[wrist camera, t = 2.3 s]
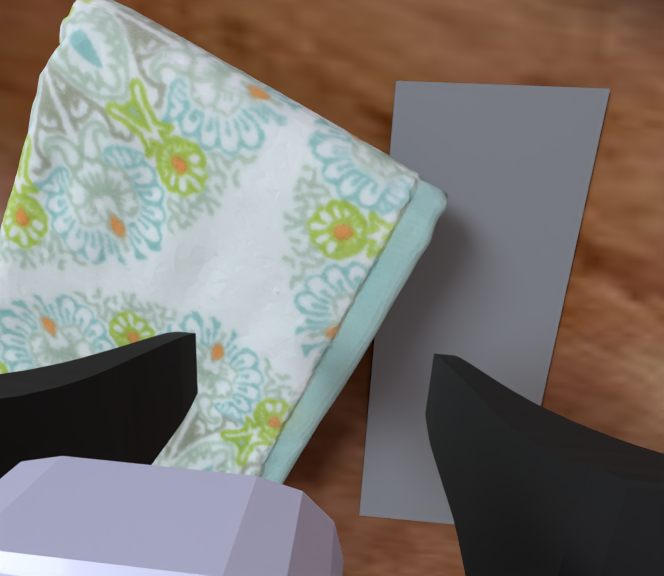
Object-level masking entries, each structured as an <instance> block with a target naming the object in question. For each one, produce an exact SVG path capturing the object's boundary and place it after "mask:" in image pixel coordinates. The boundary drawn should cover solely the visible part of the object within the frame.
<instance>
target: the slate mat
mask: <svg viewBox="0 0 664 576" xmlns="http://www.w3.org/2000/svg"><path fill="white" fill-rule="evenodd" d="M609 92H610V89H602V88H575V87H548V86H521V85H494V84H467V83H440V82H413V81H396V87H395V99H394V111H393V122H392V134H391V146H390V157H392V158H393V159H395V160H396V161H398V162H400V163H401V164H403V165H404V166H406V167H407V168H409V169H411V170H413V171H415V172H417V173H418V174H419V176H420V178H421V179H422V180H424V181H426V182H428V183H430V184H432V185H434V186H436V187H438V188H440V189H443V190H444V191H446V193H447V194H448V198H447V202H448V206H447V209H446V211H445V212H444V213H443V214H442V215H441V216H440V217H439V219H438V221H437V223H436V226H435V229H434V232H433V236H432V239H431V242H430V244H429V245H428V247H427V248H426V250H425V251H424V253H423V254H422V256H421V257H420V259H419V260H418V262H417V264H416V266H415V268H414V270H413V271H412V273H411V275H410V277H409V278H408V280H407V282H406V283H405V285H404V287H403V288H402V290H401V291H400V293H399V295H398V296H397V298H396V300H395V302H394V303H393V305H392V307H391V308H390V310H389V312H388V313H387V315H386V317H385V319H384V321H383V323H382V324H381V326H380V328H379V330H378V332H377V333H376V335H375V337H374V347H373V359H372V371H371V383H370V395H369V407H368V419H367V430H366V442H365V454H364V466H363V478H362V490H361V502H360V515H362V516H372V517H383V518H393V519H404V520H414V521H425V522H435V523H446V524H454V520H453V516H452V513H451V510H450V506H449V503H448V500H447V497H446V494H445V491H444V488H443V484H442V481H441V478H440V475H439V472H438V469H437V465H436V462H435V459H434V456H433V453H432V449H431V446H430V442H429V436H428V430H427V423H426V417H425V412H426V405H427V398H428V391H429V384H430V377H431V371H432V364H433V357H434V354H445V355H455V356H458V357H460V358H462V359H463V360H465V361H467V362H468V363H470V364H472V365H473V366H475V367H476V368H478V369H479V370H481V371H482V372H484V373H485V374H487V375H488V376H490V377H492V378H493V379H495V380H496V381H498V382H499V383H501V384H503V385H504V386H506V387H507V388H509V389H511V390H512V391H514V392H516V393H518V394H519V395H521V396H523V397H525V398H526V399H528V400H530V401H532V402H534V403H535V404H537V405H539V406H541V403H542V399H543V394H544V389H545V385H546V380H547V376H548V371H549V367H550V362H551V357H552V353H553V348H554V344H555V339H556V335H557V330H558V325H559V321H560V316H561V312H562V307H563V302H564V298H565V293H566V289H567V284H568V280H569V275H570V270H571V266H572V261H573V257H574V252H575V248H576V243H577V238H578V234H579V229H580V225H581V220H582V216H583V211H584V206H585V202H586V197H587V193H588V188H589V184H590V179H591V174H592V170H593V165H594V161H595V156H596V152H597V147H598V142H599V138H600V133H601V129H602V124H603V120H604V115H605V110H606V106H607V101H608V97H609Z"/></svg>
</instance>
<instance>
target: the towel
mask: <svg viewBox="0 0 664 576" xmlns="http://www.w3.org/2000/svg"><path fill="white" fill-rule="evenodd" d="M447 198H448V194H447V193H446V191H444V190H443V189H440V188H438V187H436V186H434V185H432V184H430V183H428V182H426V181H424V180H422V179H421V178H420V176H419V174H418V173H417V172H415V171H413V170H411V169H409V168H407V167H406V166H404V165H403V164H401V163H400V162H398V161H396V160H395V159H393V158H392V157H390V156H389V155H387V154H386V153H384V152H382V151H380V150H378V149H376V148H375V147H373V146H372V145H370V144H368V143H366V142H364V141H362V140H361V139H359V138H358V137H356V136H354V135H352V134H351V133H349V132H348V131H346V130H344V129H343V128H341V127H339V126H337V125H335V124H334V123H332V122H330V121H328V120H327V119H325V118H323V117H322V116H320V115H318V114H317V113H315V112H313V111H311V110H309V109H308V108H306V107H304V106H302V105H301V104H299V103H297V102H295V101H294V100H292V99H290V98H288V97H287V96H285V95H283V94H282V93H280V92H278V91H276V90H274V89H273V88H271V87H269V86H267V85H266V84H264V83H262V82H260V81H258V80H256V79H254V78H253V77H251V76H250V75H248V74H246V73H245V72H243V71H241V70H239V69H237V68H235V67H233V66H231V65H229V64H228V63H226V62H224V61H223V60H221V59H219V58H217V57H216V56H214V55H212V54H211V53H209V52H207V51H205V50H204V49H202V48H200V47H198V46H197V45H195V44H193V43H191V42H190V41H188V40H186V39H184V38H183V37H181V36H179V35H177V34H175V33H173V32H172V31H170V30H168V29H167V28H165V27H163V26H161V25H159V24H158V23H156V22H154V21H152V20H150V19H148V18H147V17H145V16H143V15H141V14H140V13H138V12H136V11H135V10H133V9H131V8H128V7H126V6H124V5H122V4H120V3H117V2H115V1H113V0H77V1H76V2H75V3H74V4H73V6H72V9H71V11H70V14H69V15H68V17H66V18H65V19H64V20H63V21H62V24H61V28H60V45H59V47H58V48H57V49H56V50H55V51H54V53H53V54H52V56H51V57H50V59H49V61H48V63H47V65H46V67H45V68H44V70H43V71H42V73H41V74H40V77H39V83H38V90H37V95H36V98H35V100H34V103H33V106H32V110H31V116H30V123H29V130H28V135H27V138H26V141H25V143H24V146H23V150H22V155H21V158H20V163H19V167H18V172H17V175H16V178H15V182H14V186H13V190H12V193H11V196H10V198H9V201H8V205H7V208H6V211H5V214H4V218H3V223H2V226H1V229H0V374H4V373H10V372H17V371H23V370H29V369H35V368H39V367H44V366H49V365H54V364H59V363H63V362H67V361H71V360H75V359H79V358H83V357H86V356H90V355H93V354H97V353H100V352H104V351H107V350H111V349H114V348H118V347H121V346H124V345H127V344H130V343H134V342H137V341H140V340H143V339H147V338H150V337H153V336H157V335H160V334H164V333H169V332H176V331H177V332H188V333H196V354H197V383H198V394H197V396H196V398H195V400H194V402H193V404H192V406H191V408H190V410H189V412H188V413H187V415H186V417H185V419H184V421H183V422H182V423H181V425H180V426H179V428H178V429H177V431H176V432H175V433H174V435H173V436H172V438H171V439H170V440H169V442H168V443H167V444H166V446H165V447H164V448H163V450H162V451H161V453H160V454H159V455H158V457H157V458H156V459H155V461H154V462H153V463H152V465H155V466H164V467H174V468H184V469H193V470H203V471H213V472H222V473H232V474H242V475H251V476H258V477H261V478H264V479H267V480H270V481H273V482H277V483H280V484H283V483H284V481H285V479H286V478H287V476H288V474H289V473H290V471H291V469H292V468H293V466H294V464H295V463H296V461H297V459H298V458H299V456H300V454H301V452H302V451H303V449H304V448H305V446H306V445H307V443H308V441H309V440H310V438H311V436H312V435H313V433H314V431H315V430H316V428H317V426H318V425H319V423H320V422H321V420H322V419H323V417H324V416H325V414H326V413H327V411H328V410H329V408H330V407H331V406H332V404H333V403H334V401H335V400H336V398H337V397H338V395H339V394H340V392H341V390H342V389H343V387H344V386H345V384H346V383H347V381H348V379H349V378H350V376H351V375H352V373H353V371H354V370H355V368H356V367H357V365H358V363H359V362H360V360H361V358H362V357H363V355H364V353H365V352H366V350H367V348H368V347H369V345H370V343H371V342H372V340H373V338H374V337H375V335H376V333H377V332H378V330H379V328H380V326H381V324H382V323H383V321H384V319H385V317H386V315H387V313H388V312H389V310H390V308H391V307H392V305H393V303H394V302H395V300H396V298H397V296H398V295H399V293H400V291H401V290H402V288H403V287H404V285H405V283H406V282H407V280H408V278H409V277H410V275H411V273H412V271H413V270H414V268H415V266H416V264H417V262H418V260H419V259H420V257H421V256H422V254H423V253H424V251H425V250H426V248H427V247H428V245H429V244H430V242H431V239H432V236H433V232H434V229H435V226H436V223H437V221H438V219H439V217H440V216H441V215H442V214H443V213H444V212H445V211H446V209H447V206H448V202H447Z"/></svg>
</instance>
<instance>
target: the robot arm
mask: <svg viewBox="0 0 664 576" xmlns="http://www.w3.org/2000/svg"><path fill="white" fill-rule="evenodd" d="M197 394H198V383H197V354H196V333H188V332H177V331H176V332H169V333H164V334H160V335H157V336H153V337H150V338H147V339H143V340H140V341H137V342H134V343H130V344H127V345H124V346H121V347H118V348H114V349H111V350H107V351H104V352H100V353H97V354H93V355H90V356H86V357H83V358H79V359H75V360H71V361H67V362H63V363H59V364H54V365H49V366H44V367H39V368H35V369H29V370H23V371H17V372H10V373H4V374H0V576H342V573H343V556H342V552H341V548H340V543H339V539H338V535H337V531H336V527H335V523H334V521H333V520H332V519H331V518H330V517H329V516H328V515H327V514H326V513H325V512H324V511H323V510H322V509H321V508H319V507H318V506H317V505H316V504H315V503H314V502H313V501H312V500H311V499H310V498H309V497H308V496H307V495H306V494H305V493H304V492H303V491H301V490H298V489H295V488H292V487H289V486H286V485H283V484H280V483H277V482H273V481H270V480H267V479H264V478H261V477H258V476H251V475H242V474H232V473H222V472H213V471H203V470H193V469H184V468H174V467H164V466H155V465H152V463H153V462H154V461H155V459H156V458H157V457H158V455H159V454H160V453H161V451H162V450H163V448H164V447H165V446H166V444H167V443H168V442H169V440H170V439H171V438H172V436H173V435H174V433H175V432H176V431H177V429H178V428H179V426H180V425H181V423H182V422H183V421H184V419H185V417H186V415H187V413H188V412H189V410H190V408H191V406H192V404H193V402H194V400H195V398H196V396H197ZM425 417H426V423H427V430H428V436H429V442H430V446H431V449H432V453H433V456H434V459H435V462H436V465H437V469H438V472H439V475H440V478H441V481H442V484H443V488H444V491H445V494H446V497H447V500H448V503H449V506H450V510H451V513H452V516H453V520H454V524H455V527H456V531H457V536H458V541H459V545H460V550H461V555H462V560H463V565H464V570H465V575H466V576H664V454H662V453H659V452H656V451H653V450H649V449H646V448H643V447H640V446H637V445H634V444H631V443H628V442H625V441H622V440H619V439H616V438H613V437H611V436H608V435H606V434H603V433H600V432H598V431H595V430H593V429H590V428H587V427H585V426H582V425H580V424H578V423H575V422H573V421H571V420H568V419H566V418H564V417H562V416H560V415H558V414H556V413H554V412H552V411H549V410H547V409H545V408H543V407H541V406H539V405H537V404H535V403H534V402H532V401H530V400H528V399H526V398H525V397H523V396H521V395H519V394H518V393H516V392H514V391H512V390H511V389H509V388H507V387H506V386H504V385H503V384H501V383H499V382H498V381H496V380H495V379H493V378H492V377H490V376H488V375H487V374H485V373H484V372H482V371H481V370H479V369H478V368H476V367H475V366H473V365H472V364H470V363H468V362H467V361H465V360H463V359H462V358H460V357H458V356H455V355H445V354H434V357H433V364H432V371H431V377H430V384H429V391H428V398H427V405H426V412H425Z"/></svg>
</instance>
